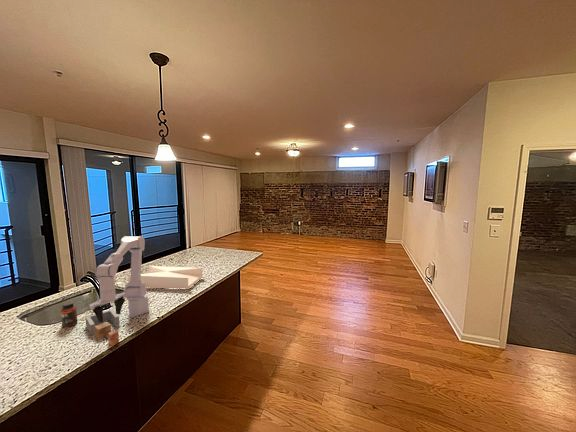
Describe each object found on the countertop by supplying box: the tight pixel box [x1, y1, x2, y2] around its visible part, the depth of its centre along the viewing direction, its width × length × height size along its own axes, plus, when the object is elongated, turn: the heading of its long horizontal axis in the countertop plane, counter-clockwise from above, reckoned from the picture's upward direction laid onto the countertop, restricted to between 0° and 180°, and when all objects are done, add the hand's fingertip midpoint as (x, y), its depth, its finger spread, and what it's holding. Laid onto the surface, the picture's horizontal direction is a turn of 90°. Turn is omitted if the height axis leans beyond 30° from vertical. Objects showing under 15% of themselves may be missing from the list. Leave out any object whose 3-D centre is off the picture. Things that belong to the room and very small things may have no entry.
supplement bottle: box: [60, 301, 78, 328], centre depth 126 cm, size 6×6×11 cm
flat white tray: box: [127, 265, 203, 289], centre depth 184 cm, size 45×22×10 cm, turn 84°
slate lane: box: [85, 308, 120, 336], centre depth 125 cm, size 12×12×5 cm
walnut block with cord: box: [94, 321, 120, 346], centre depth 115 cm, size 5×16×5 cm, turn 56°
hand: (109, 317), depth 115 cm, fingers open, 7 cm apart
